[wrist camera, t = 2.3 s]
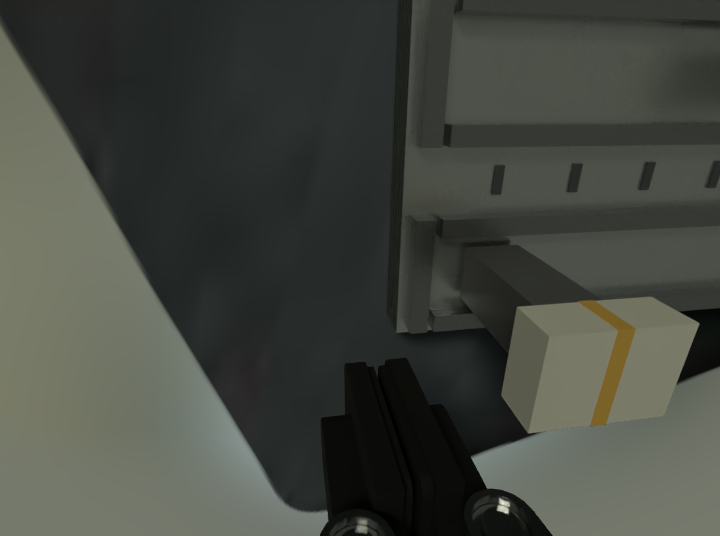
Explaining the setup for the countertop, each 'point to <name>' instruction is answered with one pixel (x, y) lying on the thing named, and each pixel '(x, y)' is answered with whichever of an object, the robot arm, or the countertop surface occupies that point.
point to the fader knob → (573, 343)
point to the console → (555, 149)
